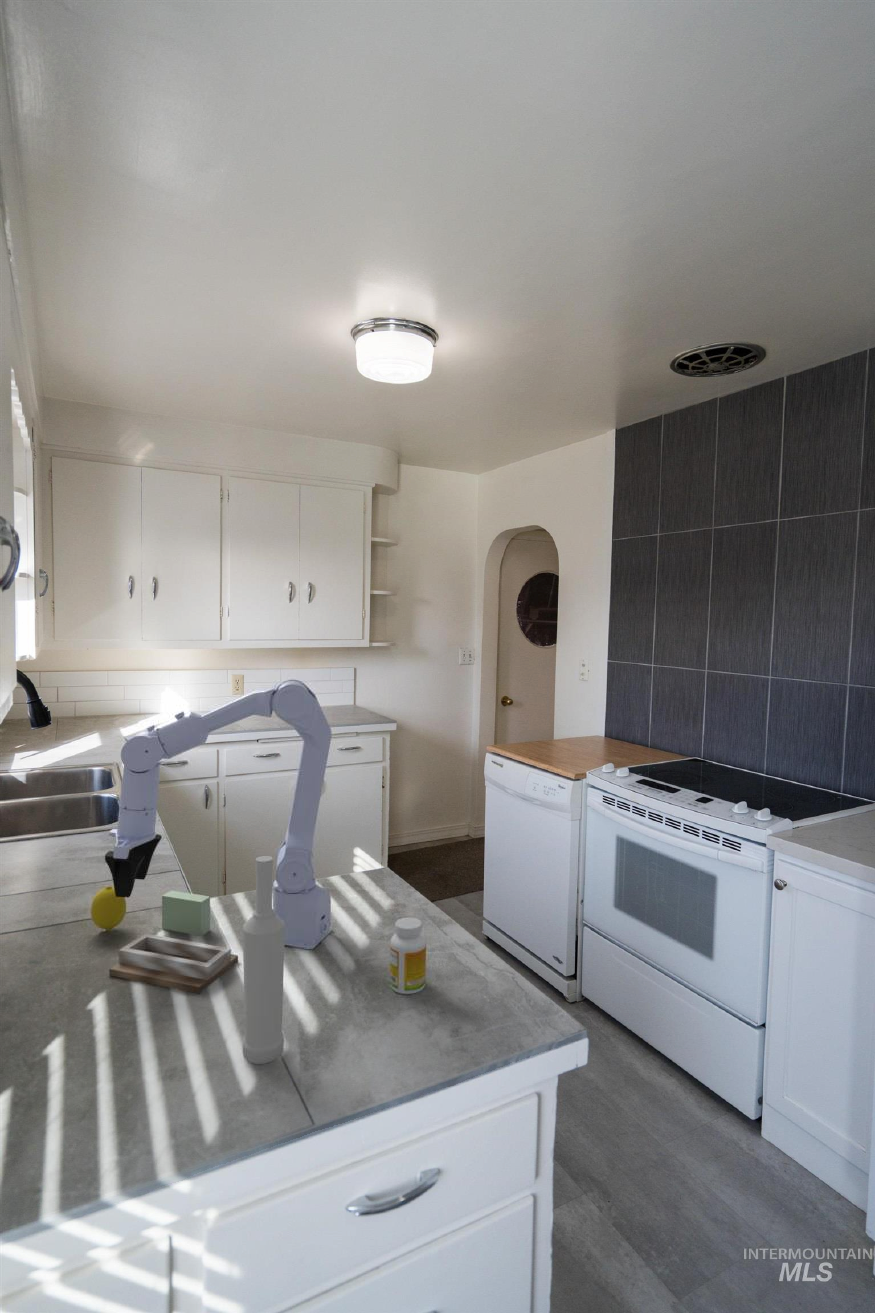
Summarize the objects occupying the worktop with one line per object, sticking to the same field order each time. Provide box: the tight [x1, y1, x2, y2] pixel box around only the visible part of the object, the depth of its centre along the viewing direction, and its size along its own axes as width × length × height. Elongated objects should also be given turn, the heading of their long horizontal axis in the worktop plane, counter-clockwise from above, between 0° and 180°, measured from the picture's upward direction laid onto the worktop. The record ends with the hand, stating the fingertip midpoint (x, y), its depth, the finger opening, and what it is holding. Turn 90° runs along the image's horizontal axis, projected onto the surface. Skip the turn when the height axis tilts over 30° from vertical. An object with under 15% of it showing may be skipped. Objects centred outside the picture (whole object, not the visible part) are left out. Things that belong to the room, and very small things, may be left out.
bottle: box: [242, 855, 285, 1065], centre depth 87 cm, size 5×5×25 cm
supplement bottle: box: [389, 917, 427, 995], centre depth 104 cm, size 5×5×10 cm
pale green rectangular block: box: [161, 890, 211, 937], centre depth 122 cm, size 8×2×6 cm, turn 73°
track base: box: [108, 933, 239, 994], centre depth 108 cm, size 16×10×3 cm, turn 73°
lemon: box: [90, 885, 127, 932], centre depth 120 cm, size 6×6×8 cm
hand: (130, 887), depth 114 cm, fingers open, 7 cm apart
